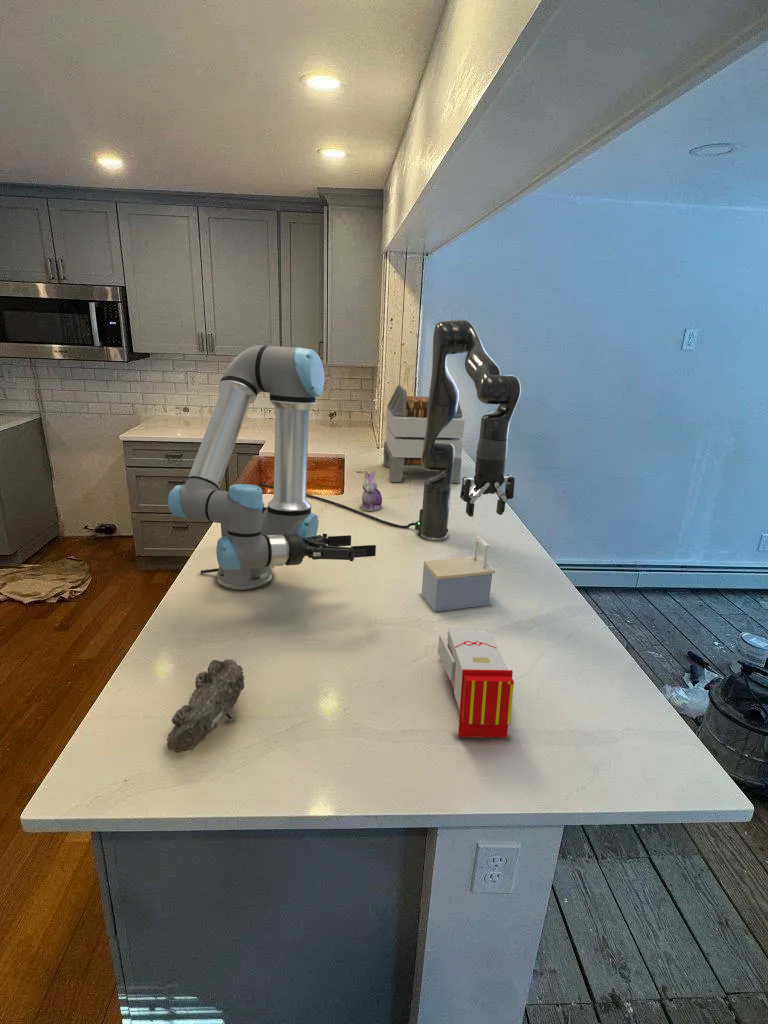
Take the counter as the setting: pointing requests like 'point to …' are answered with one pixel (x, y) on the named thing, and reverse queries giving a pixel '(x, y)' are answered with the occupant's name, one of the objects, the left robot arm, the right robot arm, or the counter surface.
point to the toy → (478, 682)
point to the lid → (461, 564)
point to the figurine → (371, 493)
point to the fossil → (206, 705)
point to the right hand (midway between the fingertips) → (484, 514)
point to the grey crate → (415, 434)
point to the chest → (456, 591)
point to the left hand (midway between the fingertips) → (362, 545)
